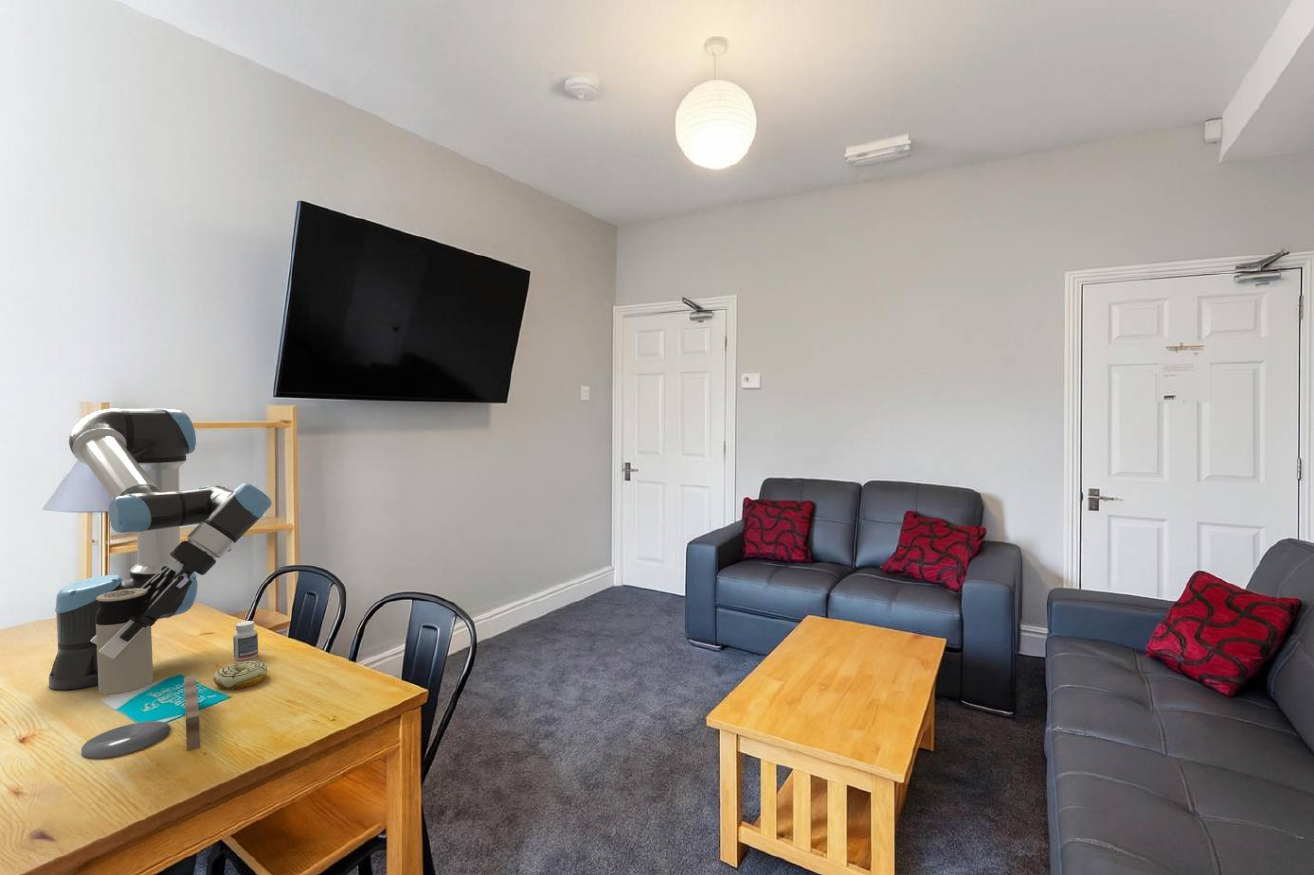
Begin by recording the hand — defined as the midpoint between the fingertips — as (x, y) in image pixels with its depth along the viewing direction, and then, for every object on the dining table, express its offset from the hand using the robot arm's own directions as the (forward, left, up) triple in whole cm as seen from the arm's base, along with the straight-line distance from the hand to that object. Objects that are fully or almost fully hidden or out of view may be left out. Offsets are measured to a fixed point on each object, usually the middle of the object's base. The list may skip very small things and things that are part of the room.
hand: (101, 649), depth 117 cm
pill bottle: (0, +45, -19) cm, 49 cm away
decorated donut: (+8, +29, -19) cm, 36 cm away
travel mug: (+2, +2, -8) cm, 9 cm away
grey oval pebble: (+2, +3, -19) cm, 19 cm away
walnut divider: (+10, +8, -19) cm, 23 cm away
